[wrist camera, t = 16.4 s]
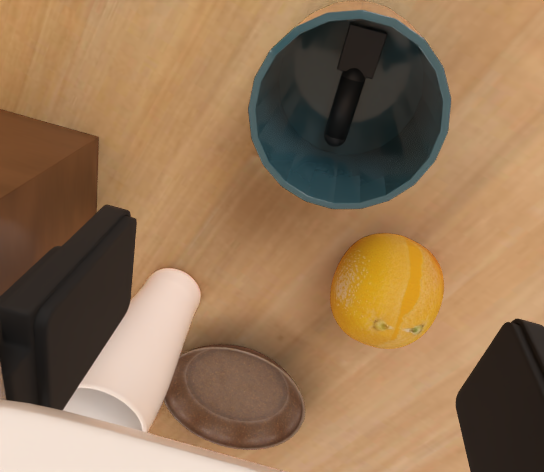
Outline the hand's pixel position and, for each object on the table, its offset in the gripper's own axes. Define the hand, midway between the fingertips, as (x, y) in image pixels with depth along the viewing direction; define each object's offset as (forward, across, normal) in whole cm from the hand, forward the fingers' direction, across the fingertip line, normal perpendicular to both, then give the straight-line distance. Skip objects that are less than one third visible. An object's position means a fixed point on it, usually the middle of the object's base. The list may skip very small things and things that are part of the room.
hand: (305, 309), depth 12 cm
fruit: (+24, -8, +12) cm, 28 cm away
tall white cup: (+24, +9, +22) cm, 34 cm away
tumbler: (+24, -1, 0) cm, 24 cm away
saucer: (+24, +1, +32) cm, 40 cm away
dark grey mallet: (+24, -1, 0) cm, 24 cm away
